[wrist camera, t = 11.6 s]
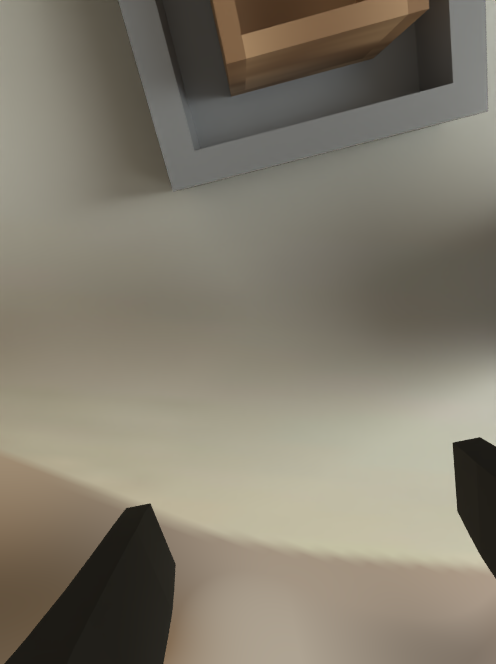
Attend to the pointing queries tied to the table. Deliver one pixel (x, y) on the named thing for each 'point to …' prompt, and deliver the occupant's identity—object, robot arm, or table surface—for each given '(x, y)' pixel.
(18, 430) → the table surface
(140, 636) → the robot arm
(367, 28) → the small crate
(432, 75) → the big crate
